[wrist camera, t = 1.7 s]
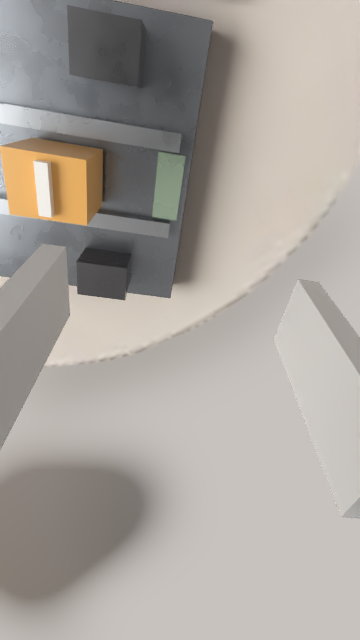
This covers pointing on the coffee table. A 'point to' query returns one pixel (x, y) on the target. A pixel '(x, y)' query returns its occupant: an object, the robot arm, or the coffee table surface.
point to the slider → (53, 180)
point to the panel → (105, 131)
